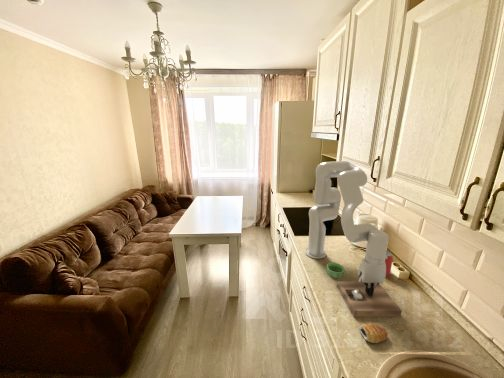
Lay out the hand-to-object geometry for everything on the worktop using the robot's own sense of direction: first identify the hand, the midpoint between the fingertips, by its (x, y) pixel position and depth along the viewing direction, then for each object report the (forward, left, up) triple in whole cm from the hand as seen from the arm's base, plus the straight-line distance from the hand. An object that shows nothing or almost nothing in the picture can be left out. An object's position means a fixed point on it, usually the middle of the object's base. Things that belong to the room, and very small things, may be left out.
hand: (368, 293), depth 98 cm
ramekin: (-19, -8, -4) cm, 21 cm away
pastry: (+20, -6, -4) cm, 22 cm away
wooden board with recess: (0, -1, -4) cm, 4 cm away
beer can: (-20, +19, -4) cm, 28 cm away
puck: (0, -4, 0) cm, 4 cm away
